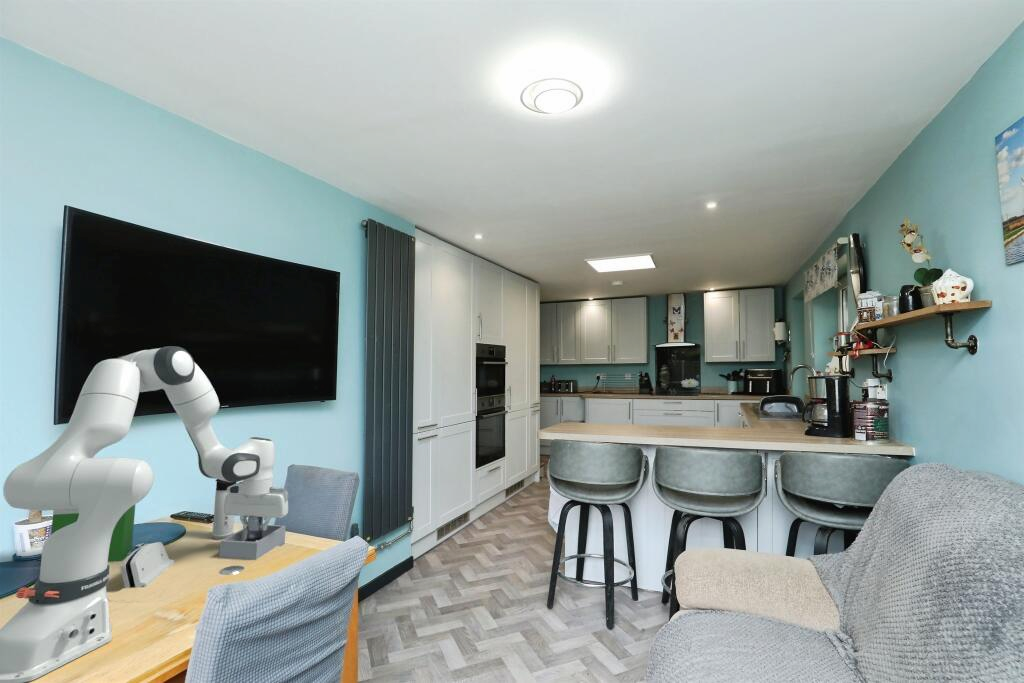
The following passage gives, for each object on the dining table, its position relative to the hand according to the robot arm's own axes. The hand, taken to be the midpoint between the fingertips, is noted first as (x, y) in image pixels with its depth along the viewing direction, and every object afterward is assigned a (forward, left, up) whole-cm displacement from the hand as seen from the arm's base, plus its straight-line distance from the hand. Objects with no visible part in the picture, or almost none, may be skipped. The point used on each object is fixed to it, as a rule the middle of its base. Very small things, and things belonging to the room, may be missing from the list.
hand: (254, 529), depth 156 cm
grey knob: (0, 0, -4) cm, 4 cm away
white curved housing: (-22, +17, -8) cm, 29 cm away
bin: (0, 0, -7) cm, 7 cm away
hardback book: (-12, +43, -7) cm, 46 cm away
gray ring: (-16, -4, -7) cm, 18 cm away
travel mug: (+12, +18, -7) cm, 23 cm away
